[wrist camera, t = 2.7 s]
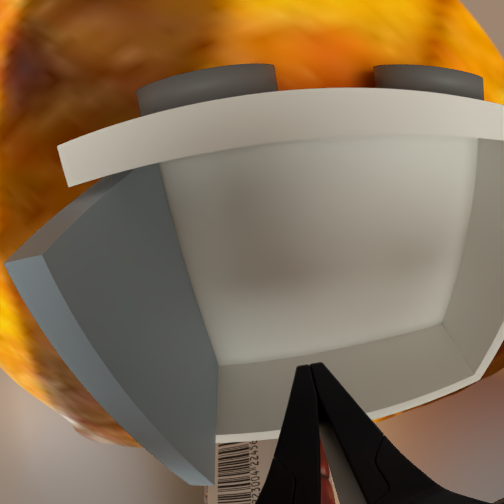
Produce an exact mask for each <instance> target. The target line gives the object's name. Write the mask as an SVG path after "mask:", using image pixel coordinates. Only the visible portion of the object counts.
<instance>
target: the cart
mask: <svg viewBox="0 0 504 504" xmlns="http://www.w3.org/2000/svg"><path fill="white" fill-rule="evenodd" d="M373 71H374V80H375V88H317V89H299V90H286V91H278V89H277V82H276V75H275V68H274V65H271V64H239V65H228V66H221V67H214V68H208V69H202V70H197V71H192V72H188V73H183V74H179V75H176V76H172V77H169V78H165V79H162V80H159V81H156V82H153V83H151V84H148V85H146V86H143V87H141V88H139V89H138V90H137V91H136V94H137V99H138V104H139V109H140V114H141V117H139V118H135V119H132V120H129V121H125V122H122V123H119V124H116V125H113V126H109V127H106V128H103V129H101V130H98V131H95V132H92V133H89V134H86V135H84V136H81V137H78V138H76V139H73V140H71V141H68V142H66V143H63V144H61V145H58V146H57V148H58V152H59V156H60V159H61V163H62V167H63V170H64V174H65V177H66V180H67V184H68V187H71V186H74V185H77V184H81V183H84V182H87V181H90V180H94V179H97V178H101V177H104V176H108V175H111V174H115V173H119V172H122V171H126V170H130V169H134V168H138V167H142V166H146V165H151V164H155V163H158V165H159V169H160V173H161V178H162V182H163V186H164V190H165V194H166V197H167V201H168V205H169V209H170V213H171V216H172V220H173V224H174V227H175V231H176V235H177V238H178V242H179V245H180V249H181V252H182V256H183V259H184V262H185V266H186V269H187V272H188V275H189V279H190V282H191V285H192V288H193V291H194V295H195V298H196V301H197V304H198V307H199V310H200V313H201V316H202V319H203V322H204V325H205V328H206V331H207V334H208V337H209V339H210V342H211V345H212V348H213V351H214V353H215V356H216V359H217V362H218V364H219V365H218V388H217V413H216V443H228V442H245V441H257V440H268V439H276V438H279V435H280V431H281V427H282V424H283V420H284V416H285V412H286V408H287V404H288V400H289V396H290V392H291V388H292V384H293V380H294V375H295V371H296V367H297V366H299V365H305V364H308V365H309V366H310V364H312V363H317V362H322V363H324V365H325V366H326V367H327V368H328V369H329V370H330V372H331V373H332V374H333V375H334V376H335V378H336V379H337V380H338V381H339V382H340V384H341V385H342V386H343V387H344V388H345V389H346V391H347V392H348V393H349V394H350V395H351V397H352V398H353V399H354V400H355V401H356V402H357V404H358V405H359V406H360V407H361V408H362V409H363V411H364V412H365V413H366V414H367V415H368V416H369V418H370V419H371V420H374V419H377V418H381V417H384V416H388V415H391V414H394V413H397V412H400V411H403V410H406V409H409V408H412V407H415V406H418V405H421V404H424V403H426V402H429V401H432V400H434V399H437V398H439V397H442V396H444V395H447V394H449V393H451V392H454V391H456V390H458V389H461V388H463V387H465V386H467V385H469V384H471V383H474V382H476V381H478V380H480V378H481V377H482V375H483V374H484V372H485V371H486V369H487V367H488V366H489V364H490V363H491V361H492V359H493V358H494V356H495V354H496V352H497V351H498V349H499V347H500V345H501V344H502V342H503V340H504V105H501V104H497V103H492V102H488V101H484V91H483V78H482V77H480V76H478V75H475V74H471V73H468V72H463V71H459V70H454V69H448V68H441V67H433V66H422V65H379V66H374V67H373Z"/></svg>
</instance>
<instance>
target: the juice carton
mask: <svg viewBox="0 0 504 504" xmlns="http://www.w3.org/2000/svg"><path fill="white" fill-rule="evenodd" d="M277 442H278V438H276V439H268V440H257V441H245V442H228V443H216V446H215V486H205V491H204V493H205V494H204V504H255V502H256V500H257V498H258V496H259V494H260V492H261V490H262V487H263V485H264V483H265V480H266V478H267V475H268V472H269V469H270V466H271V462H272V459H273V458H274V453H275V449H276V446H277ZM320 461H321V504H335V498H334V493H333V487H332V481H331V476H330V471H329V465H328V461H327V458H326V454H325V451H324V448H323V444H322V441H321V437H320Z"/></svg>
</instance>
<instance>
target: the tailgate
mask: <svg viewBox="0 0 504 504" xmlns="http://www.w3.org/2000/svg"><path fill="white" fill-rule="evenodd" d="M4 265H5V267H6V269H7V271H8V273H9V275H10V277H11V279H12V280H13V282H14V284H15V286H16V288H17V290H18V292H19V293H20V295H21V297H22V299H23V300H24V302H25V304H26V306H27V307H28V309H29V311H30V312H31V314H32V315H33V317H34V319H35V320H36V322H37V323H38V325H39V326H40V328H41V330H42V331H43V333H44V334H45V336H46V337H47V338H48V340H49V341H50V343H51V344H52V346H53V347H54V348H55V350H56V351H57V353H58V354H59V355H60V357H61V358H62V359H63V361H64V362H65V363H66V365H67V366H68V367H69V368H70V370H71V371H72V372H73V374H74V375H75V376H76V377H77V379H78V380H79V381H80V382H81V383H82V385H83V386H84V387H85V388H86V389H87V390H88V392H89V393H90V394H91V395H92V396H93V397H94V398H95V400H96V401H97V402H98V403H99V404H100V405H101V406H102V407H103V408H104V409H105V410H106V411H107V413H108V414H109V415H110V416H111V417H112V418H113V419H114V420H115V421H116V422H117V423H118V424H119V425H120V426H121V427H122V428H123V429H124V430H125V431H126V432H127V433H128V434H129V435H131V436H132V437H133V438H134V439H135V440H136V441H137V442H138V443H139V444H140V445H141V446H143V447H144V448H145V449H146V450H147V451H148V452H150V453H151V454H152V455H153V456H154V457H155V458H157V459H158V460H159V461H160V462H161V463H162V464H164V465H165V466H166V467H167V468H169V469H170V470H171V471H173V472H174V473H175V474H176V475H178V476H179V477H180V478H182V479H183V480H185V481H186V482H187V483H188V484H190V485H205V486H215V446H216V413H217V388H218V365H219V364H218V362H217V359H216V356H215V353H214V351H213V348H212V345H211V342H210V339H209V337H208V334H207V331H206V328H205V325H204V322H203V319H202V316H201V313H200V310H199V307H198V304H197V301H196V298H195V295H194V291H193V288H192V285H191V282H190V279H189V275H188V272H187V269H186V266H185V262H184V259H183V256H182V252H181V249H180V245H179V242H178V238H177V235H176V231H175V227H174V224H173V220H172V216H171V213H170V209H169V205H168V201H167V197H166V194H165V190H164V186H163V182H162V178H161V173H160V169H159V165H158V163H155V164H151V165H146V166H142V167H138V168H134V169H130V170H126V171H122V172H119V173H115V174H111V175H108V176H105V177H104V178H102V179H101V180H100V181H98V182H97V183H95V184H94V185H93V186H91V187H90V188H89V189H87V190H86V191H85V192H83V193H82V194H81V195H80V196H78V197H77V198H76V199H75V200H73V201H72V202H71V203H70V204H68V205H67V206H66V207H65V208H63V209H62V210H61V211H60V212H59V213H57V214H56V215H55V216H54V217H53V218H51V219H50V220H49V221H48V222H47V223H46V224H45V225H43V226H42V227H41V228H40V229H39V230H38V231H37V232H36V233H34V234H33V235H32V236H31V237H30V238H29V239H28V240H27V241H26V242H25V243H24V244H23V245H22V246H21V247H20V248H19V249H18V250H16V251H15V252H14V253H13V254H12V255H11V256H10V257H9V258H8V259H7V260H6V261H5V263H4Z"/></svg>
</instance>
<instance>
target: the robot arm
mask: <svg viewBox="0 0 504 504" xmlns="http://www.w3.org/2000/svg"><path fill="white" fill-rule="evenodd" d="M320 437H321V441H322V444H323V448H324V451H325V454H326V458H327V461H328V464H329V468H330V471H331V474H332V478H333V482H334V485H335V488H336V492H337V495H338V499H339V502H340V504H504V498H502V499H500V500H498V501H496V502H494V503H488V502H484V501H480V500H477V499H473V498H470V497H467V496H463V495H460V494H457V493H454V492H451V491H449V490H447V489H445V488H443V487H441V486H440V485H438V484H437V483H435V482H434V481H433V480H432V479H430V478H429V477H428V476H427V475H426V474H424V473H423V472H422V471H421V470H420V469H418V468H417V467H416V466H415V465H413V464H412V463H411V462H410V461H409V460H408V459H407V458H406V457H405V456H404V455H403V454H401V453H400V452H399V450H398V449H397V448H396V447H395V446H394V445H393V444H392V443H391V442H390V441H389V440H388V439H387V437H386V436H385V435H384V436H383V433H382V432H381V430H380V429H379V428H378V427H377V426H376V425H375V423H374V422H373V421H372V420H371V419H370V418H369V416H368V415H367V414H366V413H365V412H364V411H363V409H362V408H361V407H360V406H359V405H358V404H357V402H356V401H355V400H354V399H353V398H352V397H351V395H350V394H349V393H348V392H347V391H346V389H345V388H344V387H343V386H342V385H341V384H340V382H339V381H338V380H337V379H336V378H335V376H334V375H333V374H332V373H331V372H330V370H329V369H328V368H327V367H326V366H325V365H324V363H322V362H317V363H312V364H310V366H309V365H308V364H305V365H299V366H297V367H296V371H295V375H294V380H293V384H292V388H291V392H290V396H289V400H288V404H287V408H286V412H285V416H284V420H283V424H282V427H281V431H280V435H279V438H278V442H277V446H276V449H275V453H274V458H273V459H272V462H271V466H270V469H269V472H268V475H267V478H266V480H265V483H264V485H263V487H262V490H261V492H260V494H259V496H258V498H257V500H256V502H255V504H321V461H320Z"/></svg>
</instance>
